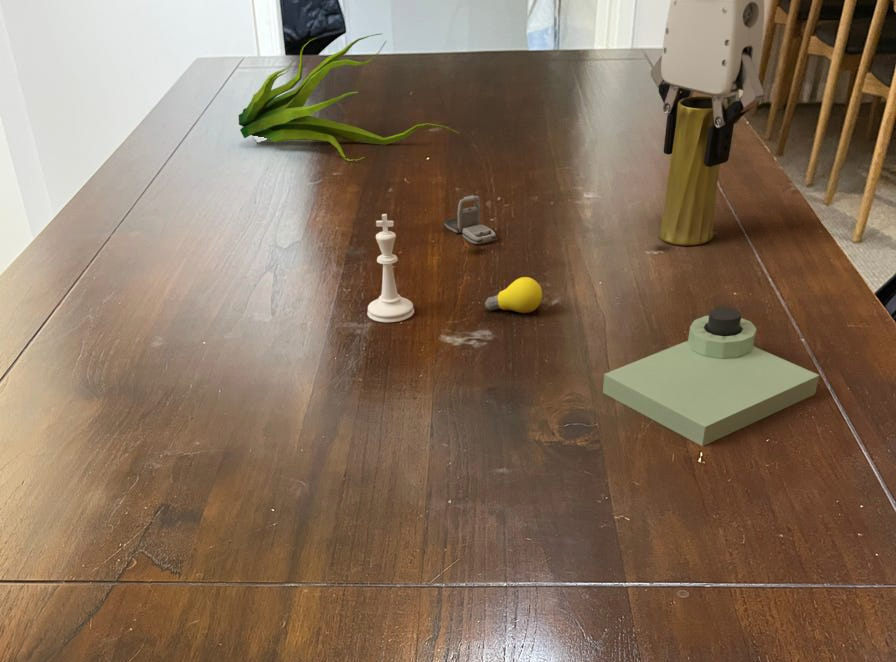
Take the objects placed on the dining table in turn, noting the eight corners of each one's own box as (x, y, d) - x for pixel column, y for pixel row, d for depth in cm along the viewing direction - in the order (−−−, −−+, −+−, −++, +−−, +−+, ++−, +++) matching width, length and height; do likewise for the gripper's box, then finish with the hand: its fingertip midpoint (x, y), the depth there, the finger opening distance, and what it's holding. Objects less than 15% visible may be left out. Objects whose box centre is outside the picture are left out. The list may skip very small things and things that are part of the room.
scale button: (721, 322, 93) (724, 304, 92) (745, 332, 91) (748, 313, 90) (700, 330, 92) (702, 312, 91) (723, 341, 90) (726, 322, 89)
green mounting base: (715, 344, 97) (721, 309, 94) (821, 391, 89) (830, 354, 86) (599, 391, 91) (602, 355, 88) (702, 447, 83) (708, 408, 80)
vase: (681, 250, 114) (698, 113, 105) (647, 234, 119) (661, 101, 109) (723, 239, 116) (744, 103, 107) (689, 223, 121) (706, 91, 111)
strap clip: (498, 241, 119) (498, 204, 117) (475, 246, 118) (475, 209, 116) (463, 220, 125) (463, 184, 122) (441, 225, 124) (441, 189, 121)
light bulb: (546, 315, 103) (536, 288, 100) (490, 329, 105) (479, 303, 102) (546, 293, 105) (537, 266, 102) (491, 307, 107) (481, 280, 104)
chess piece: (371, 302, 108) (364, 206, 101) (417, 303, 107) (412, 206, 100) (363, 322, 104) (355, 223, 97) (410, 323, 103) (405, 223, 97)
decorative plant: (376, 181, 139) (368, 60, 129) (235, 146, 154) (218, 36, 144) (459, 147, 148) (458, 32, 139) (318, 117, 164) (308, 12, 154)
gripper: (816, -34, 96) (779, 168, 108) (683, -50, 107) (664, 135, 119) (761, -23, 93) (730, 183, 105) (631, -41, 104) (616, 148, 116)
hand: (695, 155), depth 112 cm, fingers closed on vase, 5 cm apart
